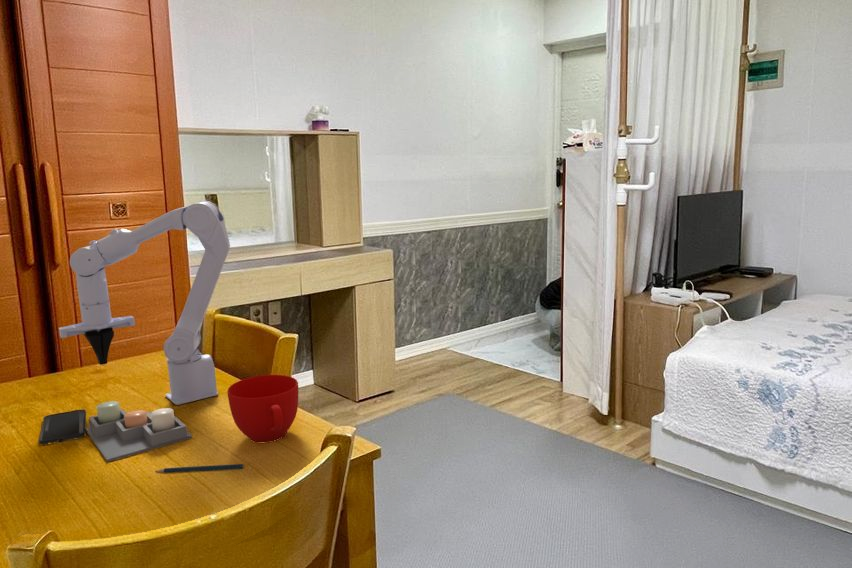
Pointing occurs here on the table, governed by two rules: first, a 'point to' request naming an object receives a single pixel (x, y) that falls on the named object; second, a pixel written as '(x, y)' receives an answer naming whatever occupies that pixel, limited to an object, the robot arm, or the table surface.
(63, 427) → the phone
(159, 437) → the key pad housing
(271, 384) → the ceramic cup
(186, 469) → the pencil
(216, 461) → the table surface
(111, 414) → the pale green rounded block
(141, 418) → the terracotta key
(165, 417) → the ivory key
